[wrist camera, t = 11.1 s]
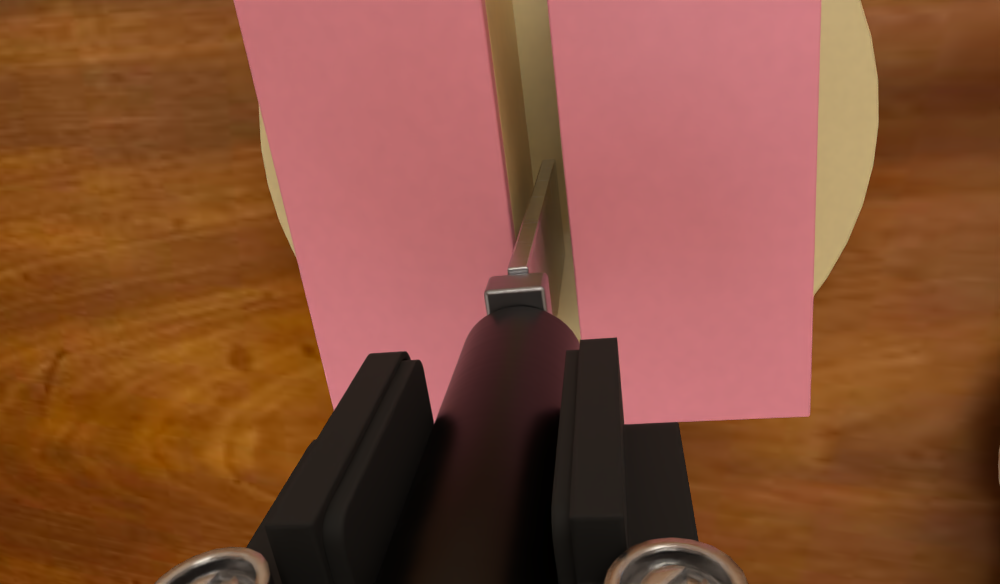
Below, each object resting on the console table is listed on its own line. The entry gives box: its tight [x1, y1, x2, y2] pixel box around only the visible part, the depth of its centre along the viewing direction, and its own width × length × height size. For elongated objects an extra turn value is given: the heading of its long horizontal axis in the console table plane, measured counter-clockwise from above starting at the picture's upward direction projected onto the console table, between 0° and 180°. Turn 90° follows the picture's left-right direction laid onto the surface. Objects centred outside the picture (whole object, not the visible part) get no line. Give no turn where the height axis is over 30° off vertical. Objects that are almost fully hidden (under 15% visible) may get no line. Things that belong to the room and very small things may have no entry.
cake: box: [234, 0, 879, 424], centre depth 21 cm, size 19×19×7 cm
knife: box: [375, 159, 580, 584], centre depth 14 cm, size 3×2×18 cm
